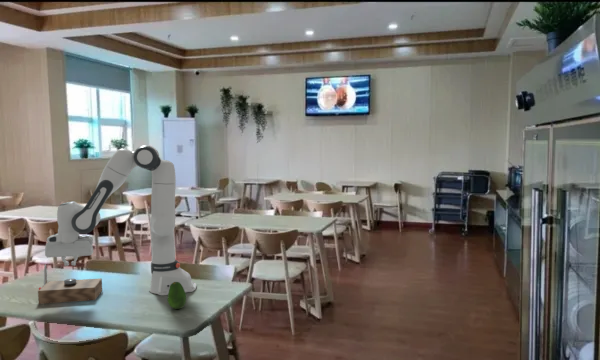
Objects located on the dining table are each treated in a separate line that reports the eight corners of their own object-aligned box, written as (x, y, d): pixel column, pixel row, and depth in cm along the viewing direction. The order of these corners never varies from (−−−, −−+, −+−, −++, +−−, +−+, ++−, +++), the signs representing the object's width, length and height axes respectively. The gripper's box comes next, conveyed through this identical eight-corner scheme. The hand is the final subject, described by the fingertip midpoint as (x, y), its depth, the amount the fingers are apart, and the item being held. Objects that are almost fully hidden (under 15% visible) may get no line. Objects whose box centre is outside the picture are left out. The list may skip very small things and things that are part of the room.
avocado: (170, 305, 204) (169, 279, 203) (187, 305, 204) (187, 279, 203) (166, 312, 196) (165, 285, 195) (184, 311, 196) (184, 284, 195)
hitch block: (102, 290, 225) (101, 278, 224) (95, 300, 211) (94, 287, 211) (49, 293, 220) (48, 281, 220) (38, 303, 207) (37, 290, 206)
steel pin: (78, 294, 219) (77, 278, 218) (74, 297, 214) (74, 281, 213) (66, 294, 218) (66, 278, 217) (63, 298, 213) (62, 282, 212)
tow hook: (49, 285, 234) (36, 290, 225) (49, 260, 233) (36, 264, 224) (64, 286, 233) (52, 291, 224) (64, 261, 232) (51, 265, 223)
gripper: (94, 234, 218) (95, 262, 220) (47, 236, 214) (49, 264, 216) (90, 236, 212) (92, 266, 213) (42, 238, 208) (44, 268, 209)
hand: (70, 265), depth 214 cm, fingers closed
